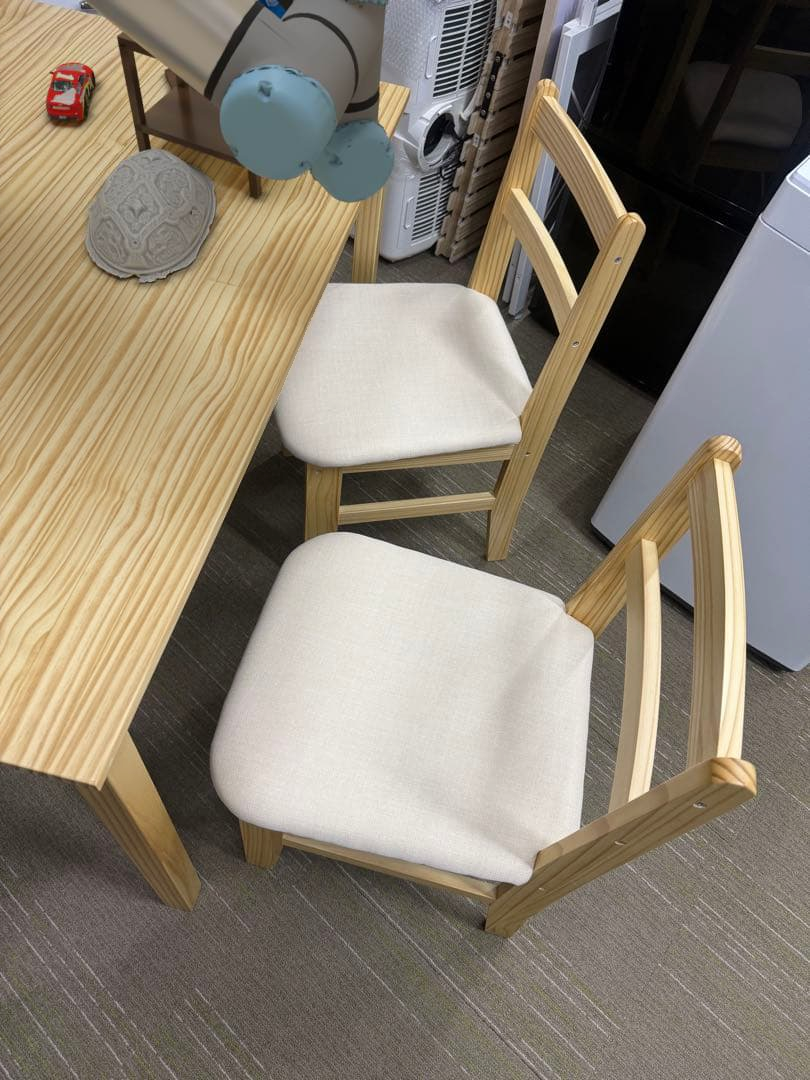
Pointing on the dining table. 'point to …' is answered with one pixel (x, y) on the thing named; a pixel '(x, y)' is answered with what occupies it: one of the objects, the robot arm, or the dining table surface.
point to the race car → (70, 92)
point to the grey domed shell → (150, 216)
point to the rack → (177, 115)
